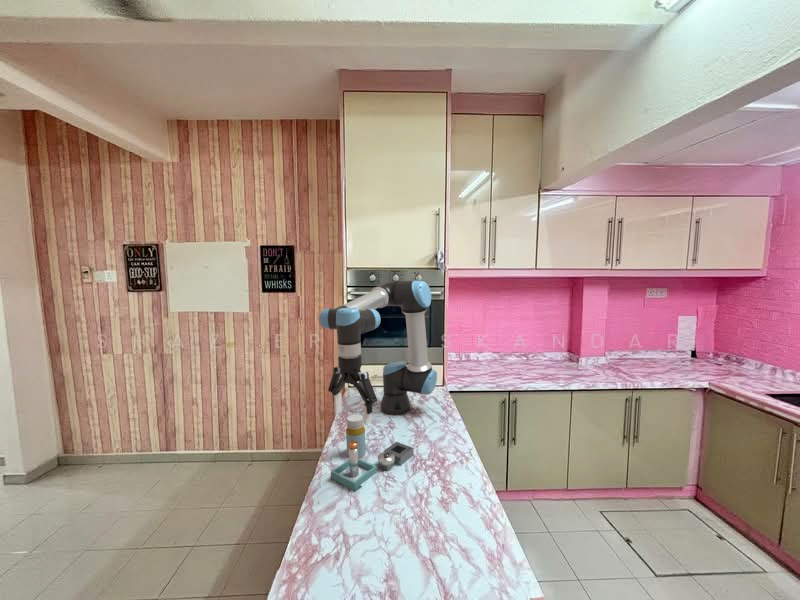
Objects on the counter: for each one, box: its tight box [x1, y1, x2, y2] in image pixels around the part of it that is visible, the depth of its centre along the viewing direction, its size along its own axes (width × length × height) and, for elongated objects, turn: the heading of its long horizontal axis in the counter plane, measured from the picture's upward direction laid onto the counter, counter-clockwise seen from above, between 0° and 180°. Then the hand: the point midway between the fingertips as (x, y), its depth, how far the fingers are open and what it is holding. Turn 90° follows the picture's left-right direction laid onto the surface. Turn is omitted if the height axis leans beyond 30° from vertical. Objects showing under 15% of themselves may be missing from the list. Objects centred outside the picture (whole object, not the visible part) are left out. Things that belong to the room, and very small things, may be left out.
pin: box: [348, 441, 360, 478], centre depth 115 cm, size 3×3×12 cm
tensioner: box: [377, 441, 414, 472], centre depth 123 cm, size 14×8×5 cm, turn 143°
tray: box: [330, 458, 378, 493], centre depth 116 cm, size 11×11×3 cm
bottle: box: [345, 413, 367, 459], centre depth 128 cm, size 7×7×15 cm
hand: (352, 417), depth 114 cm, fingers open, 13 cm apart
